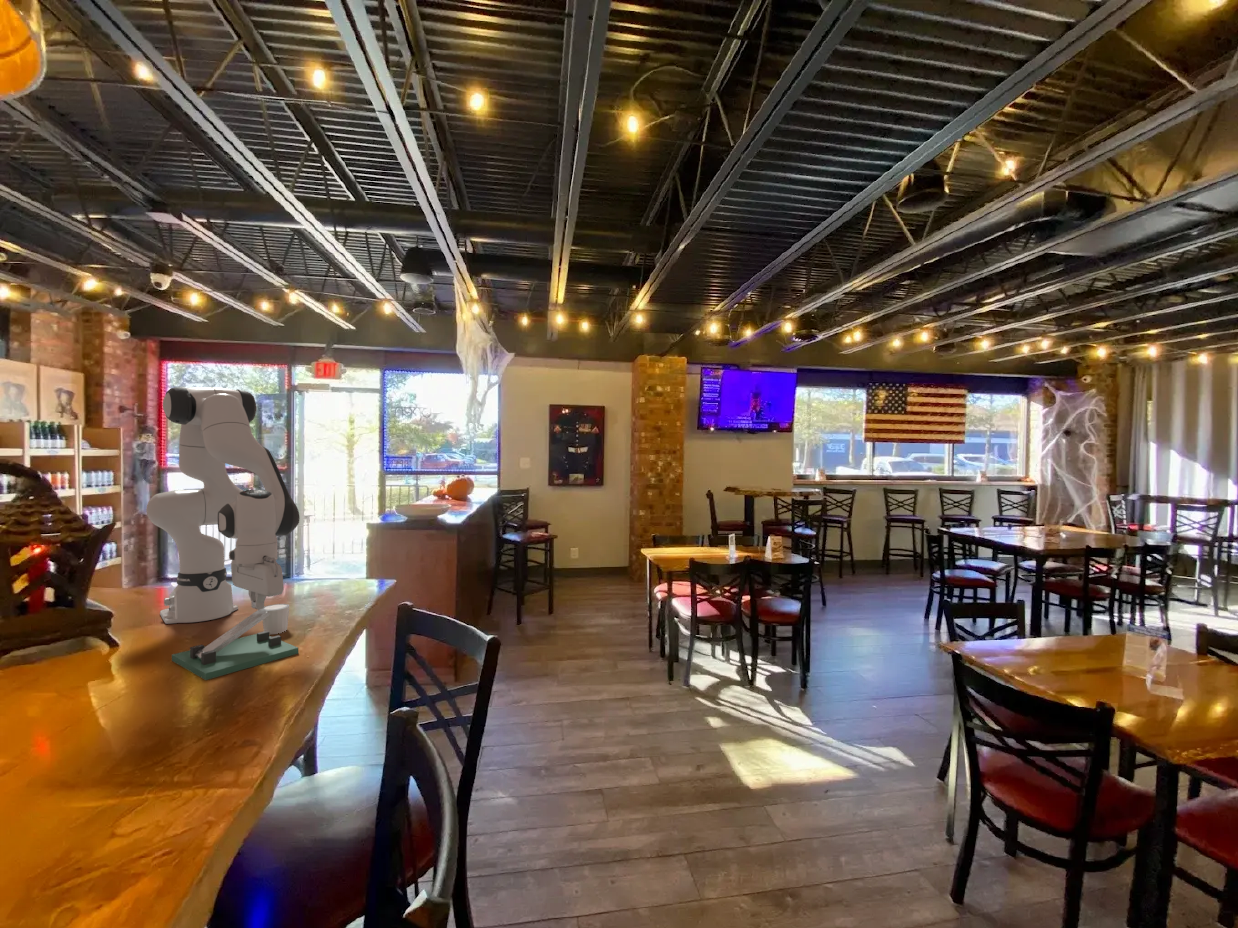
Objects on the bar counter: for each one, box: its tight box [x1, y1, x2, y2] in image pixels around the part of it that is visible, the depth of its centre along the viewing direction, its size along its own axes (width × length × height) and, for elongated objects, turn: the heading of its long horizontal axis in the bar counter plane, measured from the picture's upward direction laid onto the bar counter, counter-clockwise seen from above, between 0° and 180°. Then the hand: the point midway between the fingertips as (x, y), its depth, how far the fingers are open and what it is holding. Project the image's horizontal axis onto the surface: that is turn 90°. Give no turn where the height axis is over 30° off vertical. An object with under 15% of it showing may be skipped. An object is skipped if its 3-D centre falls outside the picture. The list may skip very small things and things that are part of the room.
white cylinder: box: [262, 603, 290, 636], centre depth 159 cm, size 7×7×7 cm
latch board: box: [171, 630, 299, 681], centre depth 139 cm, size 20×20×4 cm
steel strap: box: [195, 609, 270, 659], centre depth 139 cm, size 4×16×2 cm, turn 146°
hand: (257, 608), depth 143 cm, fingers closed
